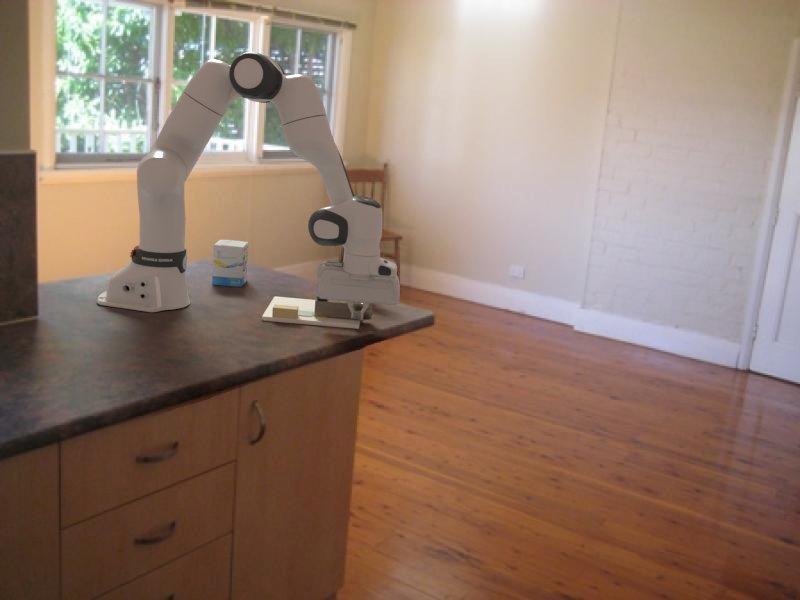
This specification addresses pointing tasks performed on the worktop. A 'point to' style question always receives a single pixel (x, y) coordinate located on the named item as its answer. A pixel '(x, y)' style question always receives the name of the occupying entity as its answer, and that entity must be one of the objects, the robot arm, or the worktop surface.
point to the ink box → (230, 263)
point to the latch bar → (339, 308)
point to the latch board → (303, 313)
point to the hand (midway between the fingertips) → (356, 318)
